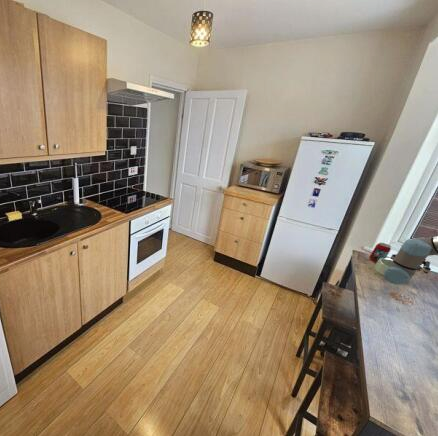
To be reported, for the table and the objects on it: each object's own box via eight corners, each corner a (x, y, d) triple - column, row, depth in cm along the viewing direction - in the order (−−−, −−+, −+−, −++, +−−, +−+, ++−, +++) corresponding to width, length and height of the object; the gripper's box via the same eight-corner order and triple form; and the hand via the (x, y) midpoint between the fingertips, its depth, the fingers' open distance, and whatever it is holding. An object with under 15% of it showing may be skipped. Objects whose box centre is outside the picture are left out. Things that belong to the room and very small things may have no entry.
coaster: (415, 301, 114) (415, 301, 114) (409, 308, 110) (410, 307, 109) (391, 290, 121) (391, 289, 121) (385, 295, 116) (386, 295, 116)
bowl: (410, 278, 133) (417, 269, 130) (403, 285, 126) (409, 276, 123) (378, 264, 144) (383, 255, 141) (369, 270, 137) (375, 261, 134)
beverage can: (371, 262, 146) (381, 246, 141) (366, 256, 152) (375, 241, 147) (384, 264, 144) (394, 248, 139) (378, 259, 150) (388, 243, 145)
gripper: (379, 264, 112) (394, 253, 124) (424, 284, 100) (436, 270, 112) (387, 252, 109) (401, 241, 121) (434, 270, 97) (445, 257, 109)
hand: (418, 255), depth 116 cm, fingers closed on stirring pestle, 2 cm apart
